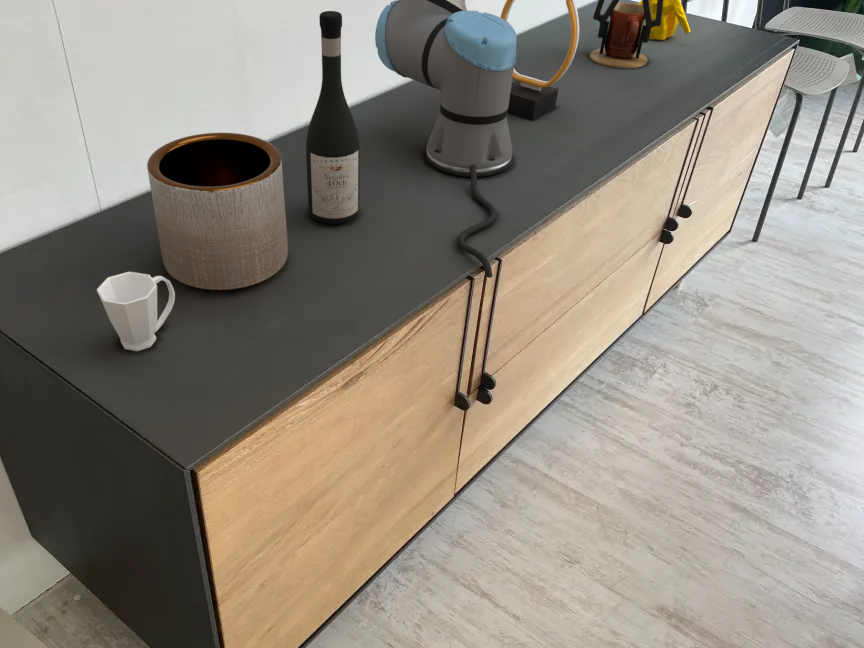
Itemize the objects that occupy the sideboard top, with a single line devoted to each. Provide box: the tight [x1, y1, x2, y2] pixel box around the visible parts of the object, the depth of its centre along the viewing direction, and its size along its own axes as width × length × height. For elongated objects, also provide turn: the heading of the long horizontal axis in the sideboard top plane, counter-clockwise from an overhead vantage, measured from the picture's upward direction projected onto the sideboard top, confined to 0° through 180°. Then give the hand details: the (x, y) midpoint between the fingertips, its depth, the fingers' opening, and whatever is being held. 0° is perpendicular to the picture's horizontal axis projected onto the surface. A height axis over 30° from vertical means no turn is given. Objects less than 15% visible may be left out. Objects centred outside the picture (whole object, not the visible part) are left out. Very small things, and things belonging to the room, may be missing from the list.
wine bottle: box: [305, 10, 361, 225], centre depth 114 cm, size 8×8×30 cm
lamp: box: [499, 0, 580, 121], centre depth 148 cm, size 17×9×32 cm, turn 50°
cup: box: [96, 271, 176, 352], centre depth 96 cm, size 7×10×8 cm
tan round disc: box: [589, 47, 648, 69], centre depth 181 cm, size 13×13×1 cm
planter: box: [146, 132, 289, 292], centre depth 107 cm, size 18×18×16 cm
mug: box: [604, 2, 645, 59], centre depth 178 cm, size 12×9×10 cm
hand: (619, 54), depth 181 cm, fingers closed on mug, 7 cm apart
